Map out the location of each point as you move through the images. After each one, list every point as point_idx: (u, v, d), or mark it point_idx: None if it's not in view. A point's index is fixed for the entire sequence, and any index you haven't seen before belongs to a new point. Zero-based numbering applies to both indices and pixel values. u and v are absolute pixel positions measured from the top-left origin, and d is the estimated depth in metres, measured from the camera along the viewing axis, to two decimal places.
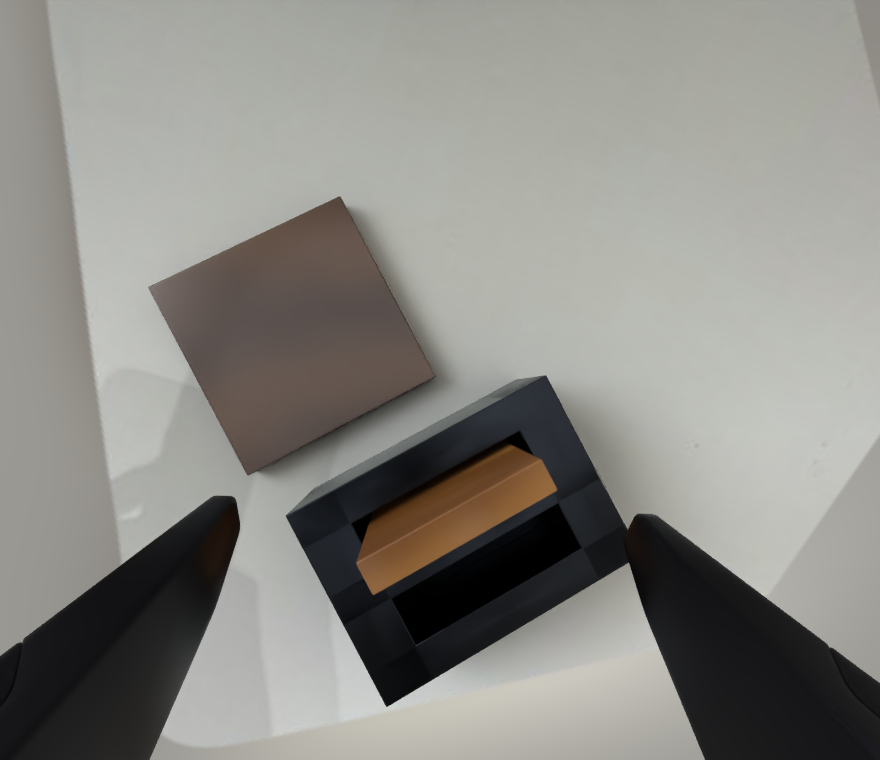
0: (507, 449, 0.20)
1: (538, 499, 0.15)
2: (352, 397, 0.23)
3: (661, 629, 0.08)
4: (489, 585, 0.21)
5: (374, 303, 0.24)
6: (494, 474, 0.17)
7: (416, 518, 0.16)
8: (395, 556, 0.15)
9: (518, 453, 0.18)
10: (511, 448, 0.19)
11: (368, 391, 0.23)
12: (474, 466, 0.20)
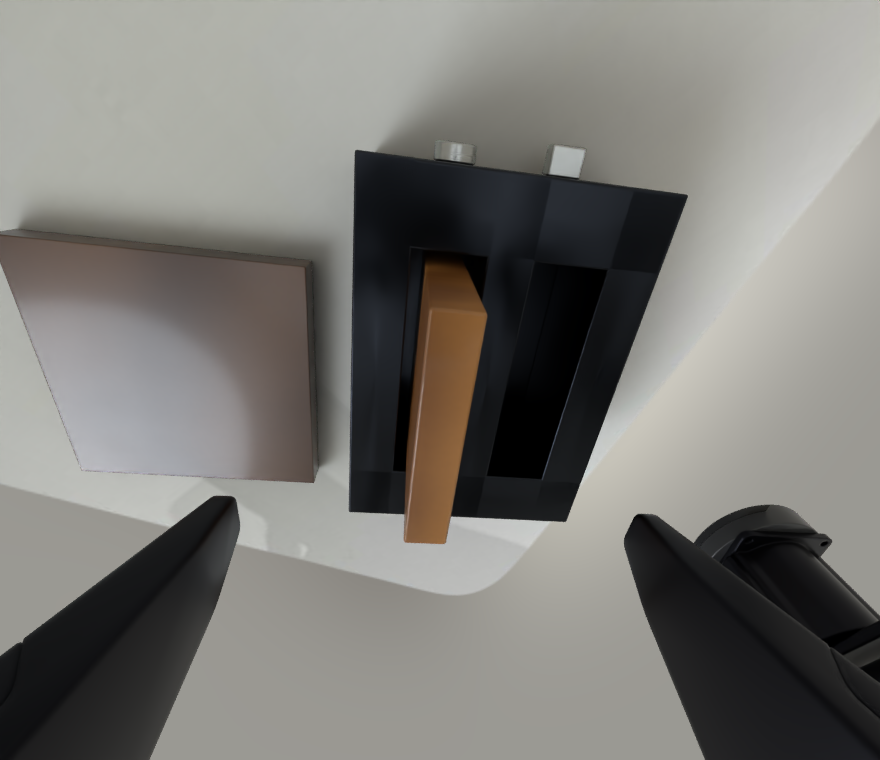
0: (424, 278, 0.13)
1: (479, 345, 0.10)
2: (284, 366, 0.19)
3: (661, 629, 0.08)
4: (557, 378, 0.17)
5: (173, 280, 0.17)
6: (421, 353, 0.11)
7: (410, 456, 0.13)
8: (423, 513, 0.13)
9: (426, 291, 0.12)
10: (425, 275, 0.13)
11: (285, 348, 0.19)
12: (419, 327, 0.14)
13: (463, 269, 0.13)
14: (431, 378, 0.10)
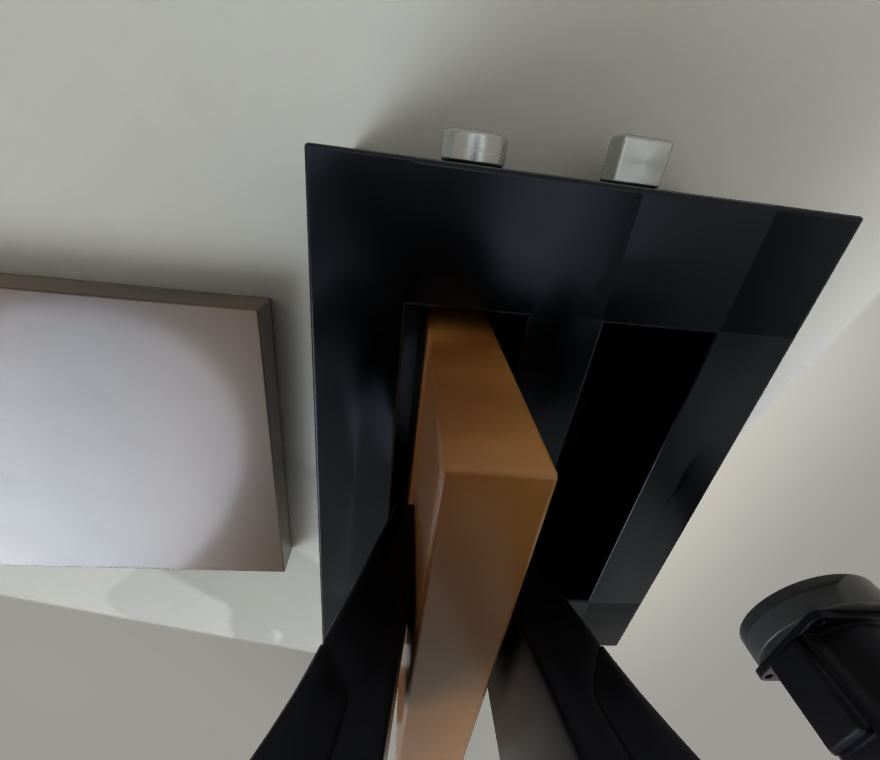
0: (427, 349, 0.08)
1: (537, 525, 0.05)
2: (236, 438, 0.14)
3: None
4: (612, 467, 0.12)
5: (70, 330, 0.12)
6: (423, 500, 0.06)
7: (405, 634, 0.08)
8: (426, 737, 0.08)
9: (430, 386, 0.07)
10: (428, 346, 0.08)
11: (236, 415, 0.14)
12: (418, 416, 0.09)
13: (488, 333, 0.08)
14: (443, 576, 0.05)
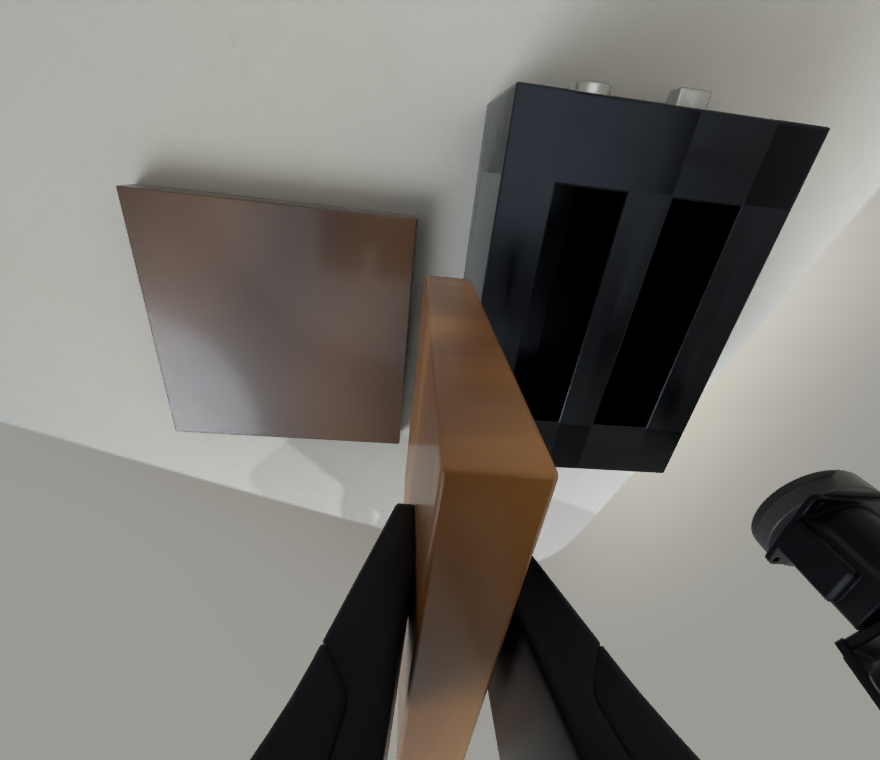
0: (427, 348, 0.08)
1: (537, 524, 0.05)
2: (384, 323, 0.19)
3: None
4: (665, 326, 0.17)
5: (287, 233, 0.17)
6: (423, 499, 0.06)
7: (406, 634, 0.08)
8: (427, 737, 0.08)
9: (430, 385, 0.07)
10: (428, 346, 0.08)
11: (387, 303, 0.19)
12: (419, 415, 0.09)
13: (488, 332, 0.08)
14: (443, 576, 0.05)
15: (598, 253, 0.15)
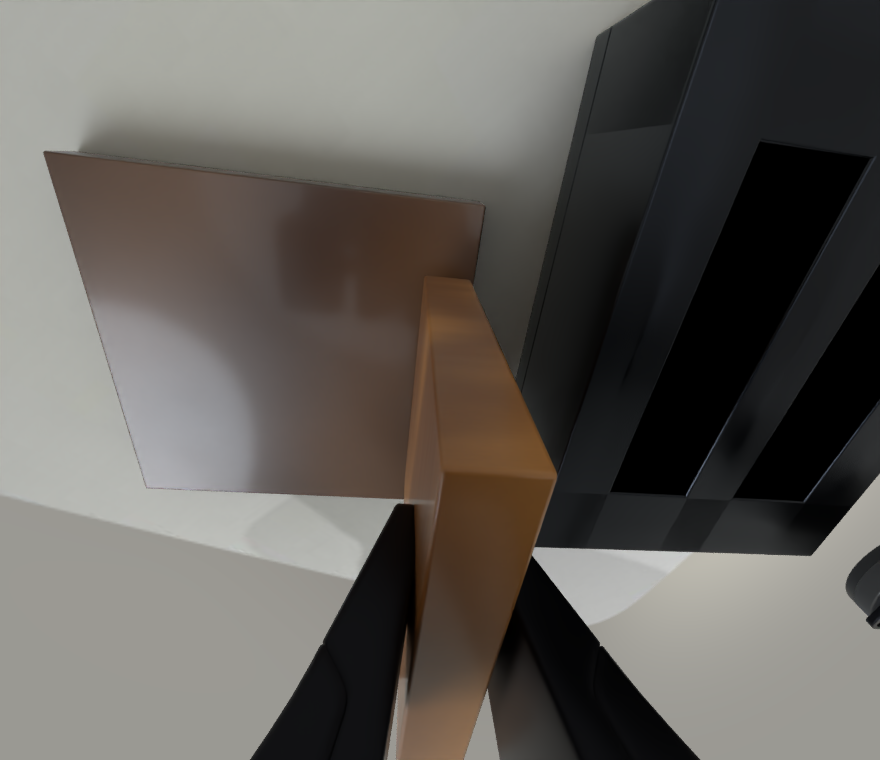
0: (426, 349, 0.08)
1: (536, 525, 0.05)
2: None
3: None
4: (843, 361, 0.12)
5: (298, 225, 0.12)
6: (422, 500, 0.06)
7: None
8: (426, 737, 0.08)
9: (430, 386, 0.07)
10: (427, 346, 0.08)
11: None
12: (418, 415, 0.09)
13: (488, 332, 0.08)
14: (442, 576, 0.05)
15: (783, 256, 0.10)
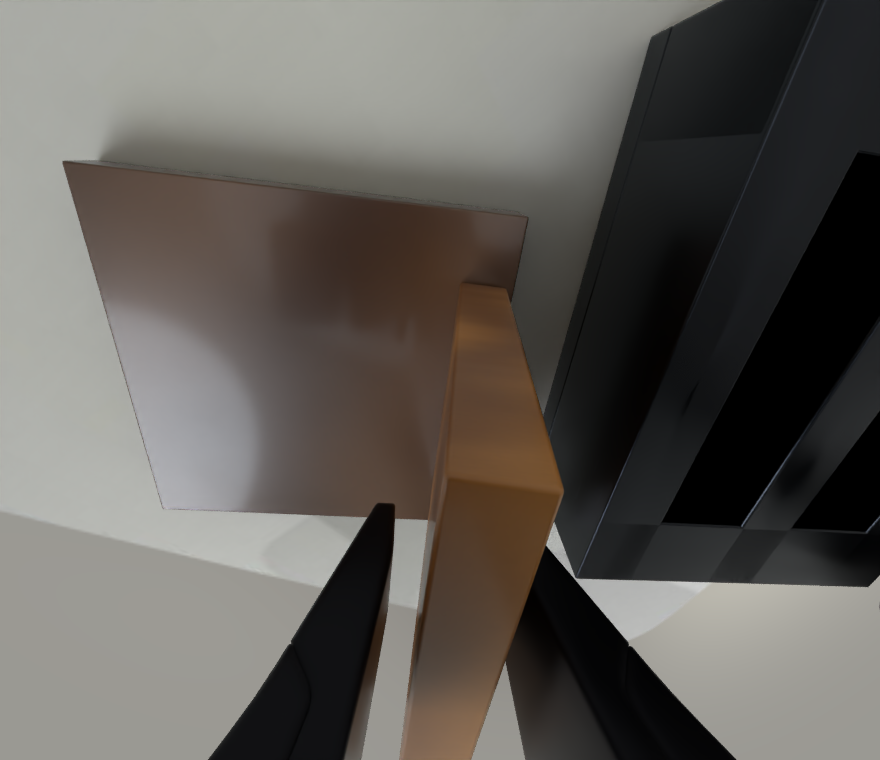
0: None
1: (542, 540, 0.05)
2: None
3: None
4: None
5: (330, 238, 0.11)
6: (435, 504, 0.07)
7: (415, 638, 0.08)
8: (428, 744, 0.08)
9: (449, 392, 0.07)
10: (453, 352, 0.08)
11: None
12: (443, 421, 0.09)
13: (515, 342, 0.08)
14: (445, 583, 0.05)
15: (862, 275, 0.09)
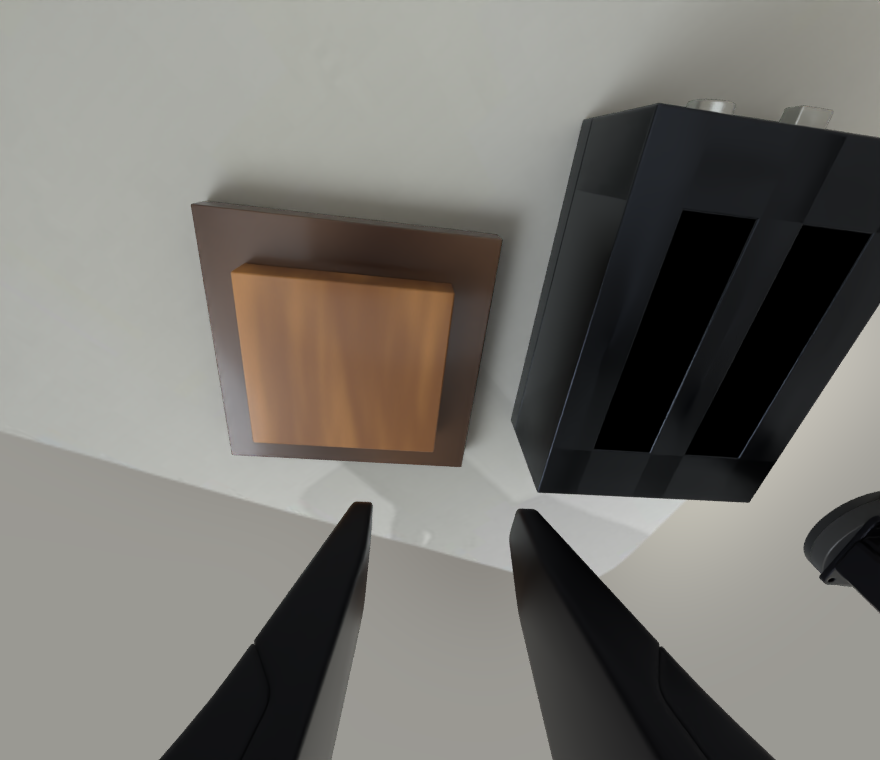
0: None
1: (234, 293, 0.15)
2: (458, 345, 0.19)
3: (527, 628, 0.08)
4: (764, 353, 0.16)
5: (366, 253, 0.16)
6: None
7: None
8: None
9: None
10: None
11: (463, 326, 0.18)
12: None
13: (346, 281, 0.16)
14: None
15: (710, 280, 0.14)
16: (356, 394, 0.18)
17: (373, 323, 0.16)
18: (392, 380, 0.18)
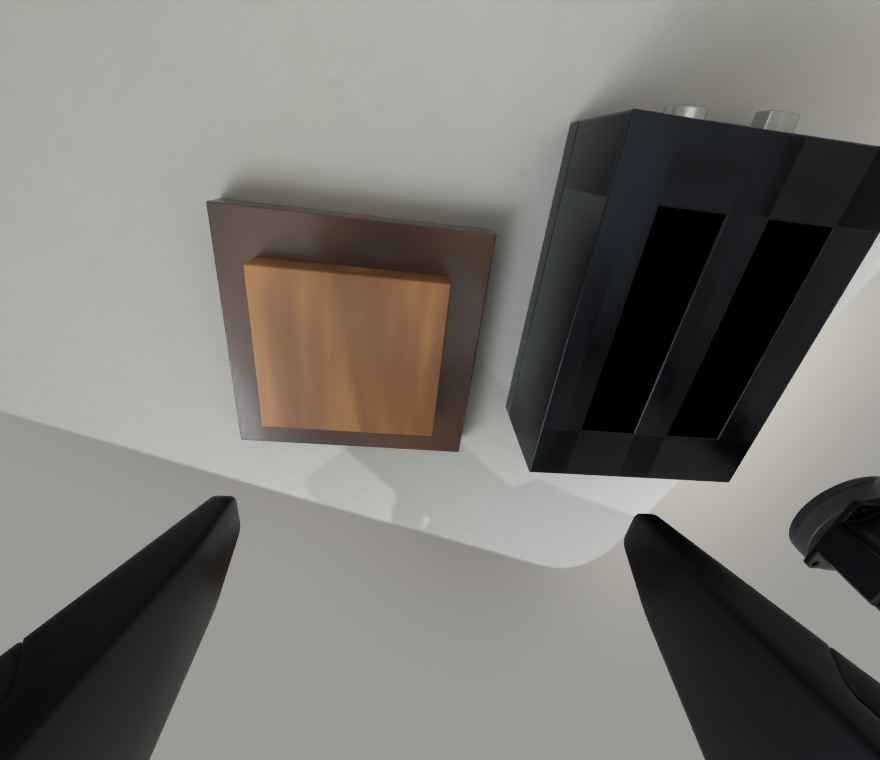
0: None
1: (246, 284, 0.17)
2: (455, 334, 0.20)
3: (661, 629, 0.08)
4: (740, 340, 0.17)
5: (369, 247, 0.17)
6: None
7: None
8: None
9: None
10: None
11: (460, 316, 0.19)
12: None
13: (350, 273, 0.17)
14: None
15: (686, 271, 0.15)
16: (359, 380, 0.19)
17: (375, 312, 0.17)
18: (393, 366, 0.19)
